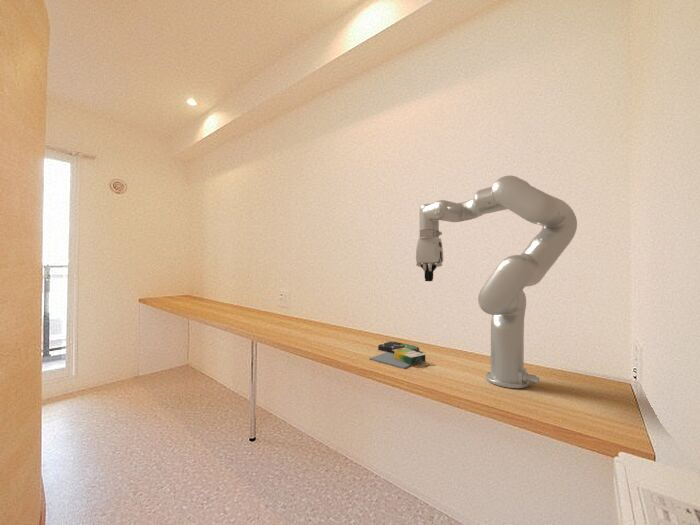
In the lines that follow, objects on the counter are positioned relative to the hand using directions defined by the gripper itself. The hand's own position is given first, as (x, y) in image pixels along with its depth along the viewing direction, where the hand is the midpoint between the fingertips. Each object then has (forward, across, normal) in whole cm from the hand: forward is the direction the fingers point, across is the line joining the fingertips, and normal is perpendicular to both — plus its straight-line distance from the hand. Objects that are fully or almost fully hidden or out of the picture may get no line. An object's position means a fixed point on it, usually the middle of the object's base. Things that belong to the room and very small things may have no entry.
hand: (428, 281), depth 122 cm
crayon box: (+29, -1, +10) cm, 31 cm away
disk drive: (+32, +15, -2) cm, 35 cm away
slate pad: (+31, +8, +11) cm, 34 cm away
